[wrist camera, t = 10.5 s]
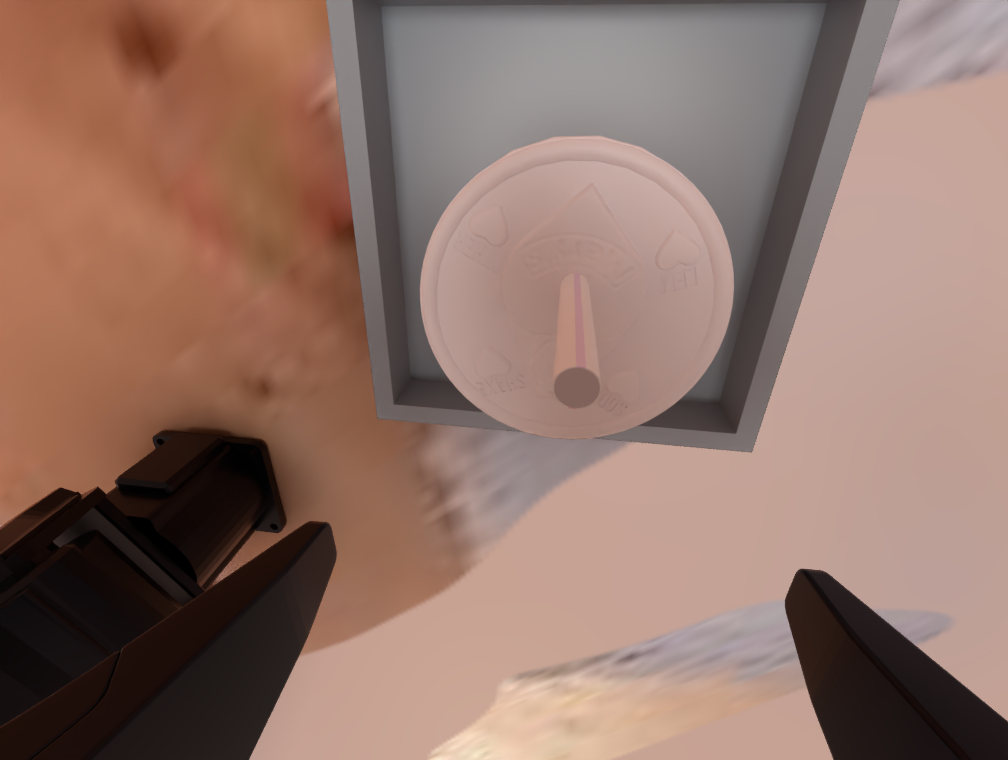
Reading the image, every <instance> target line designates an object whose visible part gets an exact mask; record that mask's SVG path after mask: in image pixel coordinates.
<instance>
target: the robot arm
mask: <svg viewBox="0 0 1008 760" xmlns="http://www.w3.org/2000/svg"><path fill="white" fill-rule="evenodd" d="M153 443H154V446H155V448H156V449H155V450H154V451H153V452H151V453H150V454H149V455H147V456H146V457H144V458H143V459H142V460H140V461H139V462H138V463H136V464H135V465H134V466H132V467H131V468H129V469H128V470H127V471H125V472H124V473H123V474H121V475H120V476H119V477H118V478H117V479H116V480H115V484H116V486H117V487H115V488H114V489H113V490H111V491H110V492H109V493H107V494H106V493H104V492H103V491H102V490H101V489H100V488H99V487H96V488H94V489H92V490H90V491H88V492H86V493H84V494H82V495H81V494H80V493H79V492H73V491H70V490H67V489H64V488H58V489H57V490H55V491H53V492H51V493H50V494H48V495H47V496H45V497H44V498H42V499H41V500H39V501H38V502H36V503H35V504H33V505H32V506H30V507H29V508H27V509H26V510H24V511H23V512H21V513H20V514H19V515H17V516H16V517H14V518H13V519H11V520H10V521H8V522H7V523H6V524H4V525H3V526H2V527H0V760H249V758H250V756H251V754H252V752H253V750H254V748H255V746H256V744H257V742H258V740H259V738H260V736H261V733H262V731H263V729H264V727H265V725H266V723H267V721H268V719H269V717H270V715H271V713H272V711H273V709H274V707H275V704H276V702H277V700H278V698H279V696H280V694H281V692H282V690H283V688H284V686H285V684H286V682H287V680H288V678H289V675H290V674H291V672H292V669H293V667H294V665H295V663H296V661H297V659H298V657H299V655H300V653H301V651H302V649H303V646H304V644H305V642H306V640H307V638H308V635H309V633H310V630H311V628H312V625H313V622H314V620H315V617H316V614H317V611H318V609H319V606H320V603H321V601H322V598H323V595H324V592H325V590H326V587H327V584H328V581H329V579H330V576H331V573H332V571H333V568H334V565H335V562H336V556H337V551H336V546H335V541H334V537H333V532H332V528H331V526H330V524H329V523H327V522H318V521H309V522H307V523H305V524H304V525H302V526H301V527H299V528H298V529H296V530H295V531H293V532H292V533H290V534H289V535H287V536H286V537H285V538H283V539H282V540H280V541H279V542H277V543H276V544H274V545H273V546H271V547H270V548H268V549H267V550H265V551H264V552H262V553H261V554H260V555H258V556H257V557H255V558H254V559H252V560H251V561H249V562H248V563H246V564H245V565H243V566H242V567H240V568H239V569H237V570H236V571H235V572H233V573H232V574H230V575H229V576H227V577H226V578H224V579H223V580H221V581H220V582H218V583H217V584H215V585H214V586H212V587H211V588H210V589H208V588H209V587H210V585H211V584H212V583H213V582H214V580H215V579H216V578H217V577H218V576H219V574H220V573H221V572H222V571H223V569H224V568H225V567H226V566H227V565H228V563H229V562H230V561H231V560H232V558H233V557H234V556H235V555H236V554H237V552H238V551H239V550H240V549H241V547H242V546H243V545H244V544H245V543H246V541H247V540H248V539H249V538H250V536H251V535H252V534H253V533H254V532H255V530H256V531H264V532H273V533H279V532H281V531H282V529H283V528H284V527H285V525H286V523H285V519H284V515H283V511H282V507H281V504H280V500H279V496H278V492H277V488H276V484H275V481H274V477H273V473H272V469H271V465H270V461H269V458H268V454H267V450H266V447H265V445H264V444H263V443H262V442H260V441H257V440H250V439H240V438H230V437H220V436H211V435H200V434H190V433H179V432H168V431H161V432H159V433H158V434H156V435H155V436H154V437H153ZM255 449H256V450H257V451H256V450H255ZM207 589H208V590H207ZM206 590H207V591H206ZM785 610H786V614H787V618H788V621H789V625H790V629H791V632H792V636H793V639H794V643H795V646H796V650H797V654H798V657H799V661H800V664H801V668H802V671H803V675H804V679H805V682H806V686H807V689H808V692H809V695H810V699H811V702H812V705H813V707H814V710H815V713H816V715H817V718H818V721H819V723H820V726H821V728H822V731H823V734H824V736H825V739H826V741H827V744H828V746H829V749H830V752H831V754H832V757H833V759H834V760H1008V721H1007V720H1005V719H1004V718H1003V717H1002V716H1001V715H999V714H998V713H997V712H996V711H994V710H993V709H992V708H991V707H990V706H988V705H987V704H986V703H985V702H983V701H982V700H981V699H980V698H979V697H977V696H976V695H975V694H974V693H972V692H971V691H970V690H969V689H968V688H966V687H965V686H964V685H962V684H961V683H960V682H959V681H958V680H957V679H955V678H954V677H953V676H952V675H951V674H949V673H948V672H947V671H946V670H945V669H943V668H942V667H941V666H940V665H939V664H937V663H936V662H935V661H934V660H932V659H931V658H930V657H929V656H927V655H926V654H925V653H924V652H923V651H922V650H920V649H919V648H918V647H917V646H915V645H914V644H913V643H912V642H911V641H909V640H908V639H907V638H906V637H904V636H903V635H902V634H901V633H900V632H898V631H897V630H896V629H895V628H894V627H892V626H891V625H890V624H889V623H887V622H886V621H885V620H884V619H883V618H881V617H880V616H879V615H878V614H877V613H875V612H874V611H873V610H872V609H870V608H869V607H868V606H867V605H866V604H864V603H863V602H862V601H860V599H858V598H857V597H856V596H855V595H853V594H852V593H851V592H850V591H849V590H847V589H846V588H845V587H844V586H843V585H841V584H840V583H839V582H838V581H836V580H835V579H834V578H833V577H832V576H830V575H829V574H828V573H826V572H824V571H821V570H812V569H800V570H798V571H797V572H796V574H795V576H794V579H793V581H792V583H791V586H790V588H789V591H788V593H787V596H786V599H785Z"/></svg>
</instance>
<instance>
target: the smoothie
mask: <svg viewBox="0 0 1008 760" xmlns="http://www.w3.org/2000/svg"><path fill="white" fill-rule="evenodd" d="M733 295H734V272H733V264H732V257H731V253H730V249H729V245H728V241H727V239H726V236H725V233H724V230H723V228H722V225H721V224H720V222H719V220H718V218H717V216H716V214H715V212H714V210H713V209H712V207H711V206H710V204H709V203H708V201H707V200H706V198H705V197H704V196H703V195H702V193H701V192H700V191H699V190H698V189H697V188H696V186H695V185H694V184H693V183H692V182H691V181H690V180H688V179H687V178H686V177H685V176H684V175H683V174H682V173H681V172H679V171H678V170H677V169H675V168H674V167H673V166H671V165H670V164H669V163H667V162H665V161H664V160H662V159H660V158H658V157H657V156H655V155H653V154H652V153H650V152H649V151H647V150H646V149H644V148H643V147H639V146H636V145H632V144H628V143H625V142H621V141H618V140H614V139H610V138H607V137H603V136H600V135H597V136H557V137H552V138H549V139H546V140H542V141H539V142H536V143H533V144H530V145H527V146H524V147H521V148H518V149H515V150H512V151H510V152H509V153H508V154H506V155H505V156H503V157H502V158H500V159H499V160H497V161H496V162H494V163H493V164H491V165H490V166H488V167H487V168H485V169H484V170H482V171H481V172H479V173H478V174H477V175H476V176H475V177H474V178H473V179H472V180H470V181H469V182H468V183H467V184H466V185H465V186H464V187H463V188H462V189H461V190H460V191H459V193H458V194H457V195H456V196H455V198H454V199H453V200H452V201H451V203H450V204H449V205H448V207H447V208H446V210H445V211H444V213H443V214H442V216H441V217H440V219H439V221H438V223H437V225H436V227H435V229H434V231H433V233H432V236H431V238H430V241H429V243H428V246H427V250H426V253H425V257H424V261H423V266H422V272H421V282H420V305H421V313H422V319H423V324H424V328H425V332H426V335H427V338H428V341H429V344H430V346H431V349H432V351H433V353H434V356H435V357H436V359H437V361H438V363H439V365H440V367H441V368H442V370H443V371H444V373H445V374H446V376H447V377H448V379H449V380H450V381H451V382H452V383H453V385H454V386H455V387H456V388H457V389H458V390H459V391H460V392H461V393H462V394H463V396H464V397H465V398H467V399H468V400H469V401H470V402H471V403H472V404H474V405H475V406H476V407H477V408H479V409H480V410H482V411H483V412H484V413H486V414H487V415H489V416H491V417H492V418H494V419H496V420H497V421H500V422H502V423H504V424H506V425H508V426H510V427H513V428H515V429H518V430H520V431H524V432H527V433H530V434H534V435H539V436H544V437H550V438H558V439H587V438H595V437H602V436H607V435H612V434H615V433H619V432H622V431H625V430H628V429H631V428H633V427H636V426H638V425H640V424H643V423H645V422H647V421H649V420H651V419H652V418H654V417H656V416H658V415H659V414H661V413H663V412H664V411H665V410H667V409H668V408H670V407H671V406H672V405H674V404H675V403H676V402H677V401H679V400H680V399H681V398H682V397H683V396H684V395H685V394H686V393H687V392H688V391H689V390H690V389H691V388H692V387H693V386H694V385H695V384H696V383H697V382H698V380H699V379H700V378H701V377H702V376H703V374H704V373H705V372H706V370H707V369H708V367H709V366H710V364H711V363H712V361H713V359H714V357H715V356H716V354H717V352H718V350H719V348H720V346H721V343H722V341H723V338H724V336H725V334H726V330H727V327H728V324H729V320H730V316H731V311H732V305H733Z"/></svg>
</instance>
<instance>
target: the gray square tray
mask: <svg viewBox="0 0 1008 760" xmlns="http://www.w3.org/2000/svg"><path fill="white" fill-rule="evenodd" d="M899 1H900V0H326V3H327V11H328V19H329V28H330V36H331V44H332V52H333V60H334V68H335V77H336V85H337V93H338V101H339V109H340V117H341V126H342V134H343V142H344V150H345V158H346V166H347V174H348V183H349V191H350V199H351V207H352V215H353V223H354V232H355V240H356V248H357V256H358V264H359V272H360V281H361V289H362V297H363V305H364V313H365V321H366V329H367V338H368V346H369V354H370V362H371V370H372V378H373V387H374V395H375V403H376V411H377V419H384V420H396V421H407V422H418V423H429V424H440V425H451V426H462V427H474V428H485V429H496V430H507V431H518V432H524V431H520V430H518V429H515V428H513V427H510V426H508V425H506V424H504V423H502V422H500V421H497V420H496V419H494V418H492V417H491V416H489V415H487V414H486V413H484V412H483V411H482V410H480V409H479V408H477V407H476V406H475V405H474V404H472V403H471V402H470V401H469V400H468V399H467V398H465V397H464V396H463V394H462V393H461V392H460V391H459V390H458V389H457V388H456V387H455V386H454V385H453V383H452V382H451V381H450V380H449V379H448V377H447V376H446V374H445V373H444V371H443V370H442V368H441V367H440V365H439V363H438V361H437V359H436V357H435V356H434V353H433V351H432V349H431V346H430V344H429V341H428V338H427V335H426V332H425V328H424V324H423V319H422V313H421V305H420V282H421V272H422V266H423V261H424V257H425V253H426V250H427V246H428V243H429V241H430V238H431V236H432V233H433V231H434V229H435V227H436V225H437V223H438V221H439V219H440V217H441V216H442V214H443V213H444V211H445V210H446V208H447V207H448V205H449V204H450V203H451V201H452V200H453V199H454V198H455V196H456V195H457V194H458V193H459V191H460V190H461V189H462V188H463V187H464V186H465V185H466V184H467V183H468V182H469V181H470V180H472V179H473V178H474V177H475V176H476V175H477V174H478V173H479V172H481V171H482V170H484V169H485V168H487V167H488V166H490V165H491V164H493V163H494V162H496V161H497V160H499V159H500V158H502V157H503V156H505V155H506V154H508V153H509V152H510V151H512V150H515V149H518V148H521V147H524V146H527V145H530V144H533V143H536V142H539V141H542V140H546V139H549V138H552V137H557V136H597V135H600V136H603V137H607V138H610V139H614V140H618V141H621V142H625V143H628V144H632V145H636V146H639V147H643V148H644V149H646V150H647V151H649V152H650V153H652V154H653V155H655V156H657V157H658V158H660V159H662V160H664V161H665V162H667V163H669V164H670V165H671V166H673V167H674V168H675V169H677V170H678V171H679V172H681V173H682V174H683V175H684V176H685V177H686V178H687V179H688V180H690V181H691V182H692V183H693V184H694V185H695V186H696V188H697V189H698V190H699V191H700V192H701V193H702V195H703V196H704V197H705V198H706V200H707V201H708V203H709V204H710V206H711V207H712V209H713V210H714V212H715V214H716V216H717V218H718V220H719V222H720V224H721V225H722V228H723V230H724V233H725V236H726V239H727V241H728V245H729V249H730V253H731V257H732V264H733V272H734V295H733V305H732V311H731V316H730V320H729V324H728V327H727V330H726V334H725V336H724V338H723V341H722V343H721V346H720V348H719V350H718V352H717V354H716V356H715V357H714V359H713V361H712V363H711V364H710V366H709V367H708V369H707V370H706V372H705V373H704V374H703V376H702V377H701V378H700V379H699V380H698V382H697V383H696V384H695V385H694V386H693V387H692V388H691V389H690V390H689V391H688V392H687V393H686V394H685V395H684V396H683V397H682V398H681V399H680V400H679V401H677V402H676V403H675V404H674V405H672V406H671V407H670V408H668V409H667V410H665V411H664V412H663V413H661V414H659V415H658V416H656V417H654V418H652V419H651V420H649V421H647V422H645V423H643V424H640V425H638V426H636V427H633V428H631V429H628V430H625V431H622V432H619V433H615V434H612V435H607V436H602V437H595V438H596V439H607V440H619V441H630V442H641V443H652V444H664V445H674V446H685V447H697V448H708V449H719V450H730V451H742V452H752V451H753V447H754V445H755V442H756V439H757V435H758V432H759V429H760V426H761V423H762V420H763V417H764V414H765V411H766V408H767V405H768V401H769V399H770V396H771V392H772V389H773V386H774V383H775V380H776V377H777V374H778V371H779V368H780V365H781V362H782V358H783V356H784V353H785V350H786V347H787V343H788V341H789V337H790V334H791V331H792V328H793V325H794V322H795V319H796V316H797V313H798V310H799V307H800V304H801V301H802V298H803V295H804V291H805V289H806V285H807V282H808V279H809V276H810V273H811V270H812V267H813V264H814V261H815V258H816V255H817V252H818V249H819V246H820V242H821V240H822V236H823V233H824V230H825V227H826V224H827V221H828V218H829V215H830V212H831V209H832V206H833V203H834V199H835V197H836V194H837V191H838V187H839V184H840V181H841V178H842V175H843V172H844V169H845V166H846V163H847V160H848V157H849V154H850V151H851V147H852V145H853V142H854V138H855V135H856V132H857V129H858V126H859V123H860V120H861V117H862V114H863V111H864V108H865V105H866V102H867V99H868V96H869V93H870V90H871V86H872V83H873V80H874V77H875V74H876V71H877V68H878V65H879V62H880V59H881V56H882V53H883V50H884V47H885V44H886V41H887V37H888V34H889V31H890V28H891V25H892V22H893V19H894V16H895V13H896V10H897V7H898V4H899Z"/></svg>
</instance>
